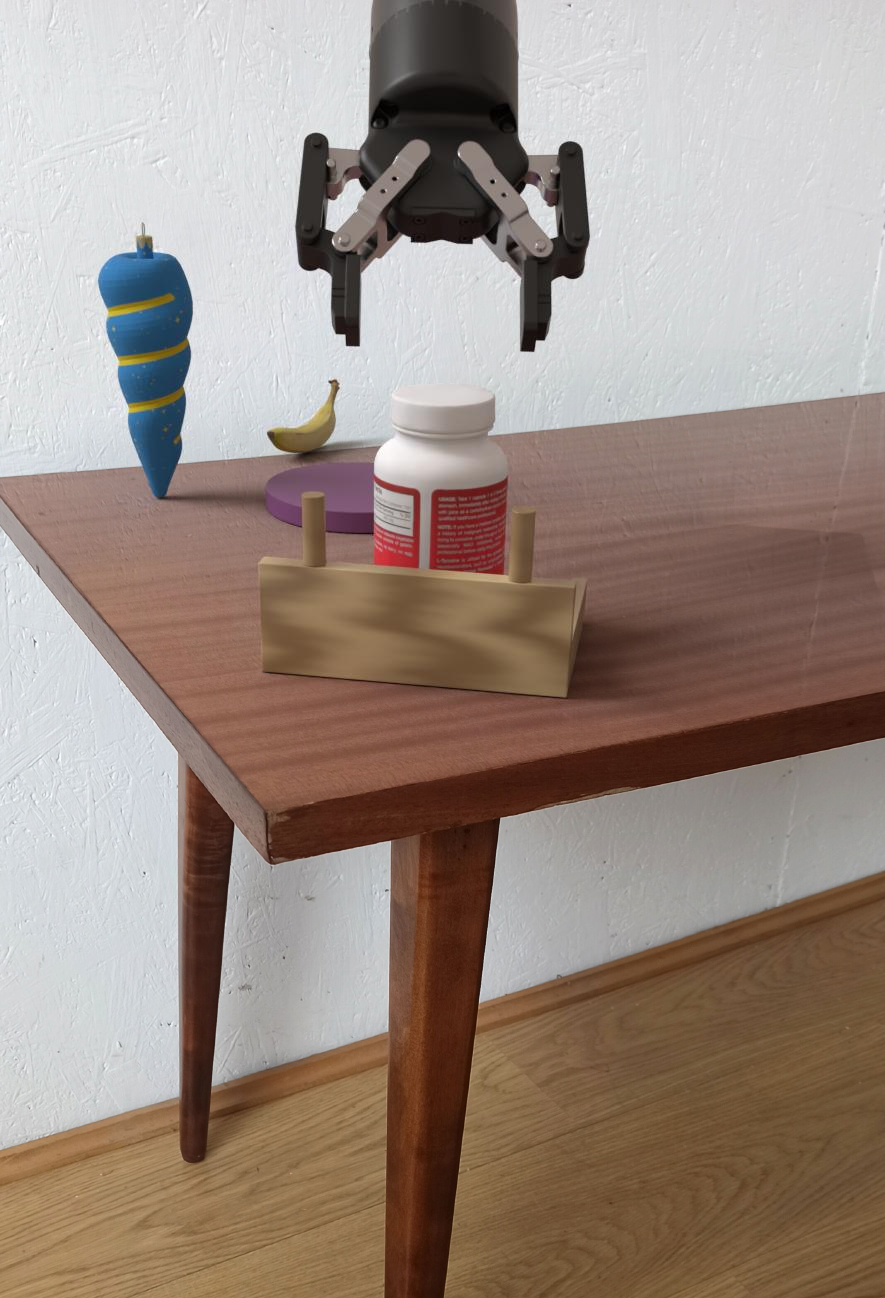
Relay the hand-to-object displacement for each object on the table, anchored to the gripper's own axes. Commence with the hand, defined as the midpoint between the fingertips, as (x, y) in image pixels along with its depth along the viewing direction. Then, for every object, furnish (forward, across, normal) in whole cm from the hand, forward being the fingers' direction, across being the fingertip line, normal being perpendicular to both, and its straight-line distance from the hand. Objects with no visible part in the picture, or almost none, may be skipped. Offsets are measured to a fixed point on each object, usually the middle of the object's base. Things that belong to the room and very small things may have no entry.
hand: (441, 339), depth 74 cm
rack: (+15, 0, +2) cm, 15 cm away
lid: (-1, -4, +18) cm, 19 cm away
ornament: (-2, -16, +19) cm, 25 cm away
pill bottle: (+14, 0, +4) cm, 14 cm away
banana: (-10, -8, +28) cm, 30 cm away
